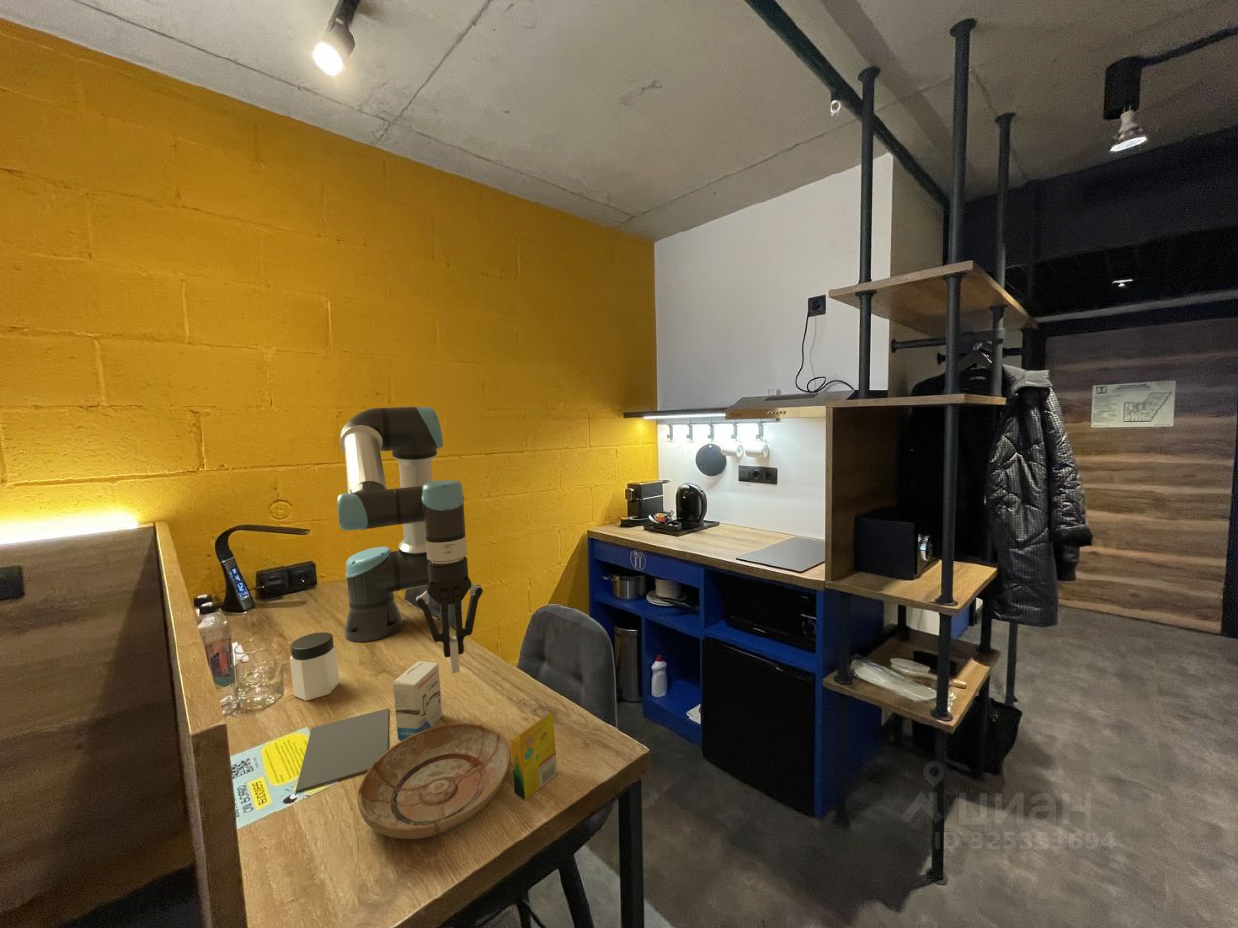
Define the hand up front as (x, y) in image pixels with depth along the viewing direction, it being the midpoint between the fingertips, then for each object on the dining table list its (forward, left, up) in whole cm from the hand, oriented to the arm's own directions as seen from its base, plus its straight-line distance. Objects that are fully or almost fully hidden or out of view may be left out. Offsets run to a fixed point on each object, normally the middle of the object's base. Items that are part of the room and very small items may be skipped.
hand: (455, 669), depth 100 cm
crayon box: (+25, +10, -11) cm, 29 cm away
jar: (-25, -28, -11) cm, 39 cm away
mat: (0, -20, -10) cm, 23 cm away
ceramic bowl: (+20, -5, -11) cm, 23 cm away
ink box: (0, -7, -11) cm, 13 cm away
